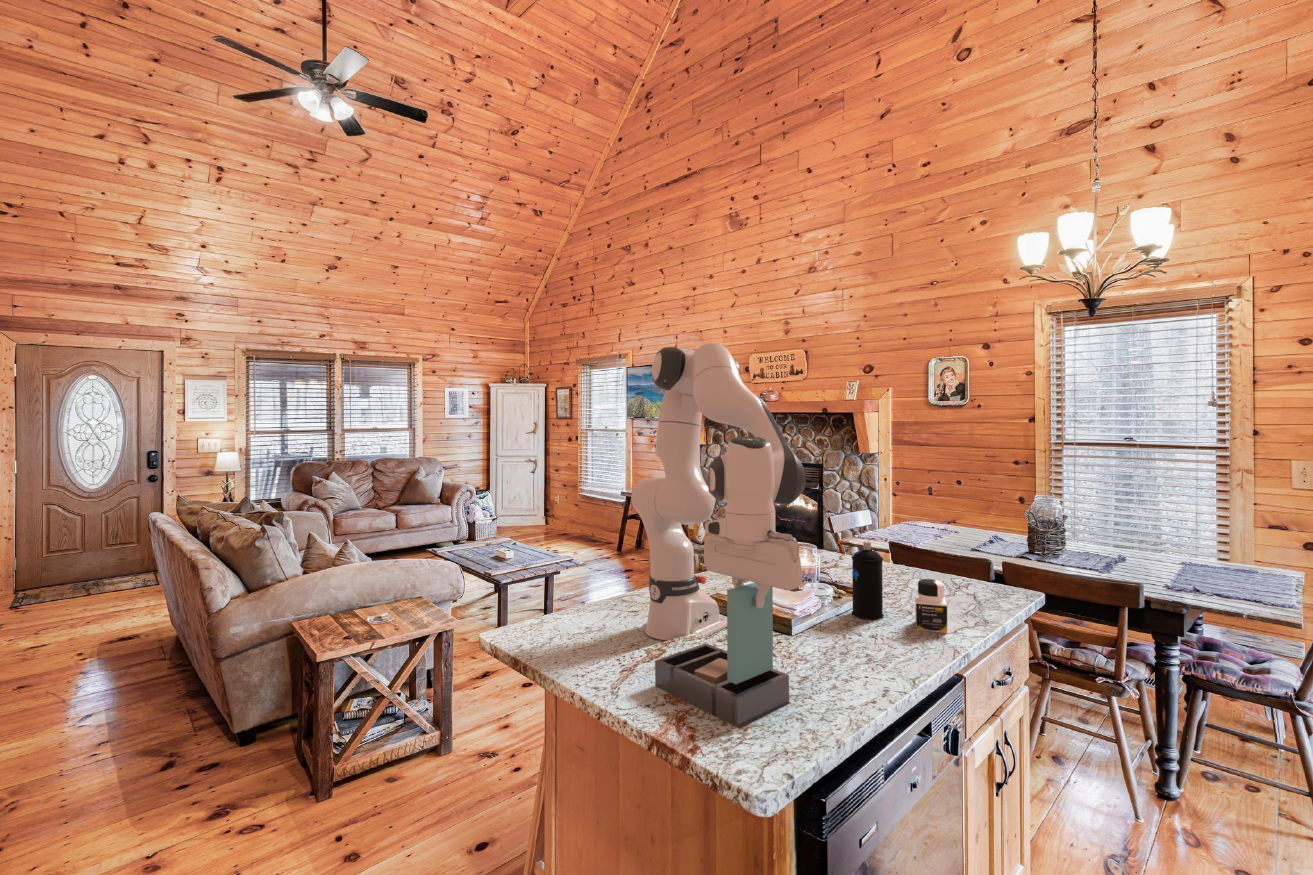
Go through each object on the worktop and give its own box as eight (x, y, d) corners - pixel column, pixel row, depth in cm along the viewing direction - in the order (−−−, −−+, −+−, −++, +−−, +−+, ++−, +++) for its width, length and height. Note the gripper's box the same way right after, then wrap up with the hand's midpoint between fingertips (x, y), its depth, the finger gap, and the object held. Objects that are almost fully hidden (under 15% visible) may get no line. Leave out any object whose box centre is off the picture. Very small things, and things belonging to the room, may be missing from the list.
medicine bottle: (916, 630, 151) (915, 582, 151) (915, 621, 158) (915, 576, 158) (947, 633, 148) (947, 585, 148) (945, 624, 155) (945, 578, 155)
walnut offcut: (719, 670, 118) (719, 657, 118) (740, 677, 115) (740, 664, 115) (694, 683, 112) (694, 670, 112) (716, 691, 109) (715, 677, 109)
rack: (706, 673, 126) (705, 643, 126) (791, 710, 109) (791, 675, 109) (655, 693, 117) (655, 660, 117) (739, 737, 100) (739, 698, 100)
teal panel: (764, 665, 111) (764, 580, 111) (772, 668, 110) (772, 582, 110) (727, 680, 105) (727, 589, 105) (736, 684, 103) (735, 592, 103)
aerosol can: (886, 613, 165) (886, 541, 164) (879, 621, 158) (879, 546, 157) (855, 608, 169) (855, 538, 169) (848, 616, 162) (847, 543, 162)
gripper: (809, 533, 101) (810, 614, 101) (721, 519, 117) (721, 589, 117) (786, 537, 97) (786, 622, 97) (698, 523, 113) (698, 596, 113)
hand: (750, 604), depth 107 cm, fingers closed on teal panel, 2 cm apart
